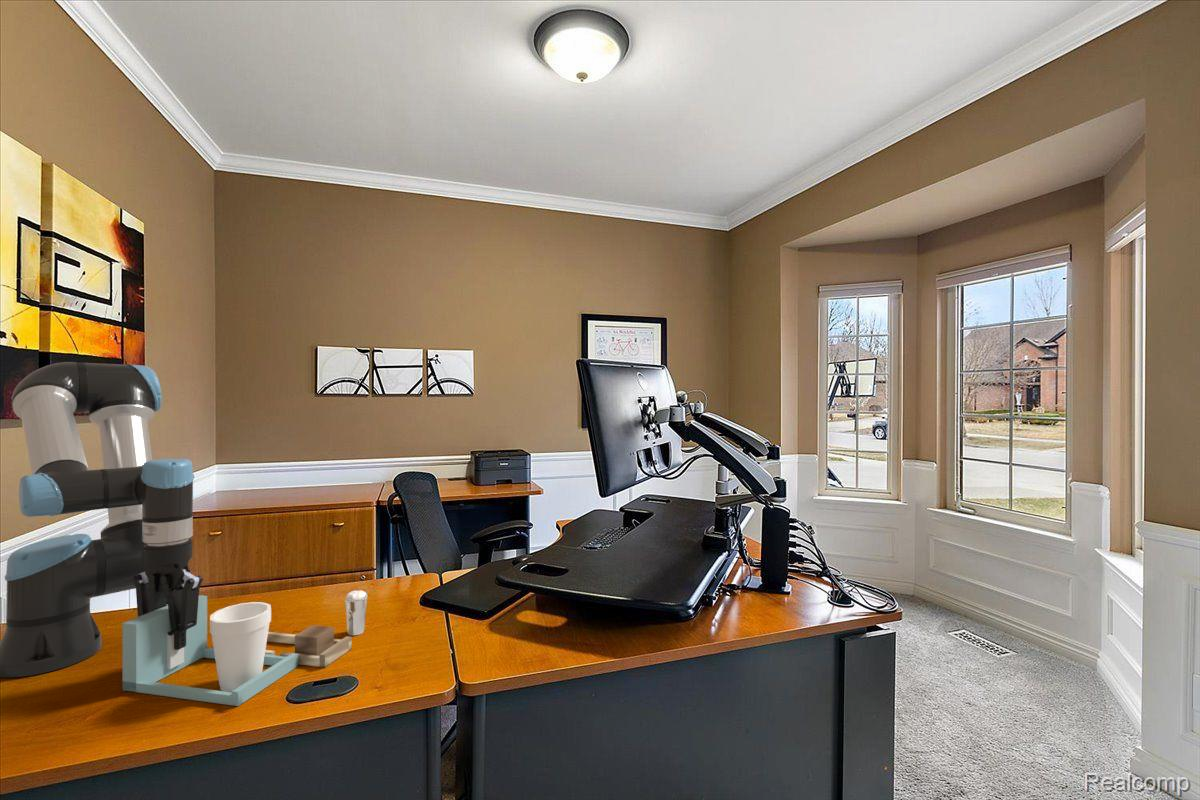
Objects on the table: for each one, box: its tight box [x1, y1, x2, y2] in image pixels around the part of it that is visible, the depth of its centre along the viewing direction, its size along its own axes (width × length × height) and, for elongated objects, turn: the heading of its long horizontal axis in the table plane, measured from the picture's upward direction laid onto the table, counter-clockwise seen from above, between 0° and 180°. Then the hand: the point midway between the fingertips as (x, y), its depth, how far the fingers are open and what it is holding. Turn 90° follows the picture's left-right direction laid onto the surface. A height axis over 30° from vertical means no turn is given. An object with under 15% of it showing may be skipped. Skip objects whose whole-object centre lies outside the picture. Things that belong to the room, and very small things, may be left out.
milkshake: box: [344, 588, 370, 637], centre depth 119 cm, size 4×5×10 cm
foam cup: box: [209, 601, 272, 692], centre depth 98 cm, size 10×9×13 cm
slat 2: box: [279, 635, 353, 668], centre depth 109 cm, size 10×8×2 cm
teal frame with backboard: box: [121, 594, 299, 707], centre depth 100 cm, size 24×14×12 cm, turn 79°
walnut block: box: [294, 624, 335, 656], centre depth 109 cm, size 5×5×5 cm
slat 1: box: [265, 631, 296, 655], centre depth 111 cm, size 12×8×6 cm, turn 79°
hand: (167, 664), depth 102 cm, fingers closed on teal frame with backboard, 3 cm apart
